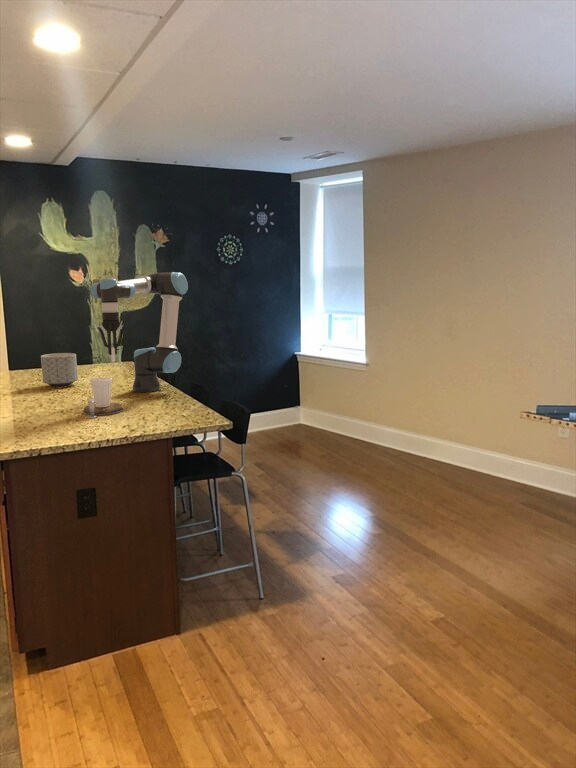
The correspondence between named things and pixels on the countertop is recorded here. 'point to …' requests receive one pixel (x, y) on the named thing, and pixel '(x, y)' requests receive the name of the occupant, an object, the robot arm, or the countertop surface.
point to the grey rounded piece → (92, 407)
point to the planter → (59, 369)
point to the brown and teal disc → (104, 408)
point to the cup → (101, 390)
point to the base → (104, 413)
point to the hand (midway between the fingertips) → (113, 361)
